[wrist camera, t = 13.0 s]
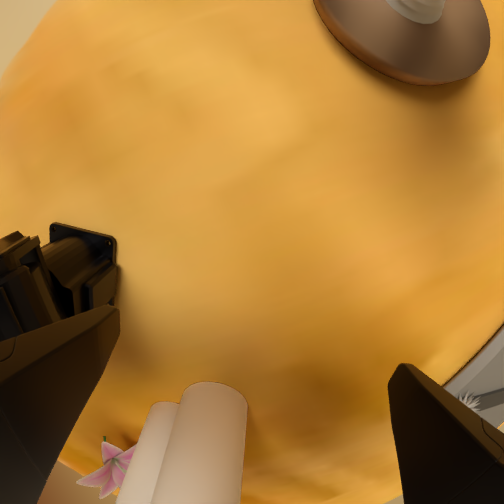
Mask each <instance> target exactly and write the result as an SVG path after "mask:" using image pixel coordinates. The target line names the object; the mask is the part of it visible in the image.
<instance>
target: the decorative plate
mask: <svg viewBox="0 0 504 504" xmlns="http://www.w3.org/2000/svg"><path fill="white" fill-rule="evenodd" d="M443 388H444V389H445V390H447V391H448V392H449V393H451V394H452V395H453V396H454V397H456V398H457V399H458V400H460V401H461V402H462V403H464V404H465V405H466V406H468V407H469V408H470V409H472V410H473V411H474V412H475V413H477V414H478V415H479V416H480V417H482V418H483V419H485V420H486V421H487V422H489V423H490V424H491V425H493V426H494V427H495V428H497V427H498V426H500V425H501V424H502V423H503V422H504V325H503V326H502V327H501V328H500V330H499V331H498V332H497V333H496V334H495V335H494V336H493V338H492V339H491V340H490V341H489V342H488V343H487V344H486V345H485V346H484V347H483V348H482V349H481V351H480V352H479V353H478V354H477V355H476V356H475V357H474V358H473V359H472V360H471V361H470V362H469V363H468V364H467V365H466V366H465V367H464V368H463V369H462V370H461V371H459V372H458V373H457V374H456V375H455V376H454V377H453V378H452V379H451V380H450V381H449V382H448V383H446V384H445V385H444V386H443Z"/></svg>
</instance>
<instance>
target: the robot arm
mask: <svg viewBox="0 0 504 504" xmlns="http://www.w3.org/2000/svg"><path fill="white" fill-rule="evenodd" d="M54 227H55V228H56V230H55V229H54ZM49 231H50V243H48V244H46V245H44V246H43V247H41V248H40V245H39V244H40V240H39V237H38V236H34V237H31V238H30V236H28V237H26V236H25V237H24V236H23V235H22V234H21V233H20V232H19V231H16V232H13V233H11V234H9V235H7V236H5V237H3V238H1V239H0V504H37V502H38V500H39V497H40V495H41V493H42V491H43V488H44V486H45V484H46V482H47V481H46V480H47V479H48V477H49V475H50V473H51V471H52V469H53V467H54V464H55V463H56V461H57V458H58V456H59V454H60V452H61V450H62V448H63V446H64V444H65V442H66V441H67V439H68V437H69V435H70V433H71V431H72V429H73V427H74V425H75V423H76V421H77V419H78V418H79V416H80V414H81V412H82V410H83V408H84V407H85V405H86V403H87V401H88V399H89V397H90V396H91V394H92V392H93V390H94V389H95V387H96V385H97V383H98V381H99V380H100V378H101V376H102V374H103V372H104V369H105V367H106V365H107V362H108V360H109V358H110V355H111V353H112V351H113V348H114V346H115V344H116V342H117V339H118V337H119V334H120V311H119V309H118V308H117V307H114V295H115V294H116V271H117V266H116V264H115V245H116V242H115V239H114V238H113V237H112V236H110V235H106V234H102V233H98V232H94V231H90V230H86V229H82V228H77V227H73V226H69V225H65V224H61V223H57V222H54V223H52V224H51V225H50V228H49ZM107 240H109V241H110V243H111V244H110V245H109V244H108V242H107ZM107 303H109V305H108V304H107ZM388 395H389V404H390V414H391V423H392V430H393V435H394V440H395V446H396V451H397V457H398V463H399V470H400V476H401V483H402V491H403V498H404V504H504V433H502V432H501V431H500V430H498V429H497V428H495V427H494V426H493V425H491V424H490V423H489V422H487V421H486V420H485V419H483V418H482V417H480V416H479V415H478V414H477V413H475V412H474V411H473V410H472V409H470V408H469V407H468V406H466V405H465V404H464V403H462V402H461V401H460V400H458V399H457V398H456V397H454V396H453V395H452V394H451V393H449V392H448V391H447V390H445V389H444V388H443V387H441V386H440V385H439V384H437V383H436V382H435V381H433V380H432V379H431V378H429V377H428V376H427V375H425V374H424V373H423V372H422V371H420V370H419V369H418V368H416V367H415V366H414V365H412V364H409V363H401V364H399V365H398V367H397V368H396V370H395V372H394V373H393V375H392V377H391V378H390V380H389V382H388Z"/></svg>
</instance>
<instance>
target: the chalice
mask: <svg viewBox="0 0 504 504" xmlns="http://www.w3.org/2000/svg"><path fill="white" fill-rule="evenodd" d="M386 1H387V2H388V4H389V5H390V6H391V7H392V8H393V9H394V10H396V11H397V12H398V13H400V14H401V15H402V16H404V17H406V18H408V19H410V20H412V21H414V22H418V23H422V24H432V23H434V22H436V21H438V20H439V18H440V16H441V15H442V9H443V8H444V3H445V1H446V0H386Z"/></svg>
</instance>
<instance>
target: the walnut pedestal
mask: <svg viewBox="0 0 504 504" xmlns="http://www.w3.org/2000/svg"><path fill="white" fill-rule="evenodd" d="M313 2H314V4H315V7H316V9H317V11H318V13H319V15H320V17H321V19H322V21H323V22H324V23H325V25H326V26H327V28H328V29H329V31H330V32H331V33H332V34H333V35H334V36H335V38H336V39H337V40H338V41H339V42H340V43H341V44H342V45H343V46H344V47H345V48H346V49H347V50H348V51H350V52H351V53H352V54H353V55H354V56H356V57H357V58H358V59H360V60H361V61H362V62H364V63H365V64H367V65H368V66H370V67H372V68H373V69H375V70H377V71H378V72H380V73H382V74H384V75H387V76H389V77H391V78H393V79H396V80H399V81H402V82H405V83H410V84H414V85H422V86H435V85H440V84H445V83H449V82H453V81H457V80H461V79H464V78H466V77H469V76H471V75H472V74H474V73H475V72H477V71H478V70H479V69H480V68H481V66H482V65H483V63H484V62H485V60H486V58H487V55H488V52H489V47H490V29H489V24H488V19H487V16H486V13H485V10H484V8H483V5H482V3H481V1H480V0H446V1H445V3H444V8H443V9H442V15H441V16H440V18H439V20H438V21H436V22H434V23H432V24H422V23H418V22H414V21H412V20H410V19H408V18H406V17H404V16H402V15H401V14H400V13H398V12H397V11H396V10H394V9H393V8H392V7H391V6H390V5H389V4H388V2H387V1H386V0H313Z"/></svg>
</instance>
